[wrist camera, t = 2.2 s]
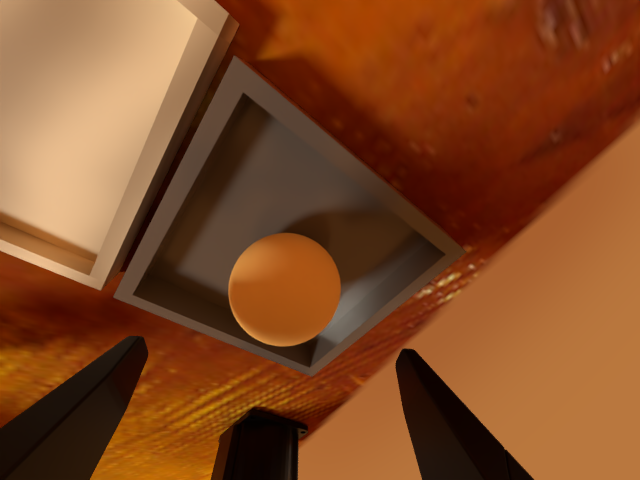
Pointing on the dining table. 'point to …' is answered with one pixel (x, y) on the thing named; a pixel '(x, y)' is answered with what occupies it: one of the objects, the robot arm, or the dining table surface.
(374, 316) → the dish
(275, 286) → the ball
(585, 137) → the dining table surface
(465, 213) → the dining table surface
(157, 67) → the tray
